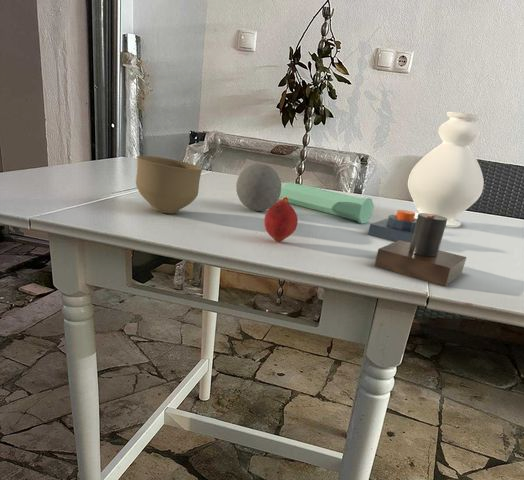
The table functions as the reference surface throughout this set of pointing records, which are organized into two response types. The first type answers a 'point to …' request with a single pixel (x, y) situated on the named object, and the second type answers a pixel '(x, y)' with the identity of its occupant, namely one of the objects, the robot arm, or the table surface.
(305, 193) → the green hexagonal prism
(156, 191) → the bowl
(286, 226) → the onion
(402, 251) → the brown rectangular block
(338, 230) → the table surface
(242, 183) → the decorative ball
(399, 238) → the button box
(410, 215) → the button
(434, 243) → the knob
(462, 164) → the decorative vase
